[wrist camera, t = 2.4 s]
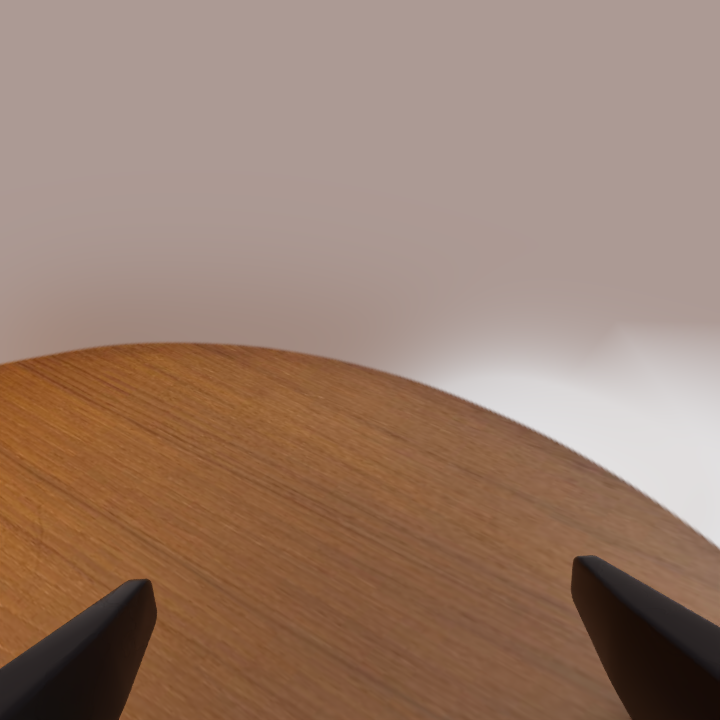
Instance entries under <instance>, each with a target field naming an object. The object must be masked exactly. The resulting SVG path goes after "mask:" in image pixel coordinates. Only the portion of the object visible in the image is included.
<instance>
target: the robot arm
mask: <svg viewBox="0 0 720 720" xmlns="http://www.w3.org/2000/svg"><path fill="white" fill-rule="evenodd" d="M571 594H572V598H573V601H574V603H575V606H576V608H577V610H578V612H579V614H580V617H581V619H582V621H583V623H584V625H585V627H586V630H587V632H588V634H589V636H590V638H591V640H592V643H593V645H594V647H595V649H596V651H597V653H598V656H599V658H600V660H601V662H602V664H603V667H604V669H605V671H606V673H607V675H608V677H609V679H610V681H611V683H612V685H613V687H614V688H615V690H616V692H617V694H618V696H619V698H620V699H621V701H622V703H623V705H624V706H625V708H626V710H627V712H628V713H629V715H630V717H631V719H632V720H720V627H718V626H717V625H715V624H713V623H711V622H710V621H708V620H706V619H705V618H703V617H701V616H699V615H698V614H696V613H694V612H692V611H691V610H689V609H687V608H685V607H684V606H682V605H680V604H679V603H677V602H675V601H673V600H672V599H670V598H668V597H666V596H665V595H663V594H661V593H659V592H658V591H656V590H654V589H653V588H651V587H649V586H647V585H646V584H644V583H642V582H640V581H639V580H637V579H635V578H633V577H632V576H630V575H628V574H627V573H625V572H623V571H621V570H620V569H618V568H616V567H614V566H613V565H611V564H609V563H607V562H606V561H604V560H602V559H600V558H599V557H597V556H593V555H589V556H577V557H575V558H574V560H573V568H572V581H571ZM156 619H157V608H156V603H155V598H154V592H153V587H152V583H151V581H150V580H148V579H132V580H128V581H127V582H125V583H124V584H122V585H121V586H119V587H118V588H116V589H115V590H113V591H112V592H111V593H109V594H108V595H106V596H105V597H103V598H102V599H100V600H99V601H98V602H96V603H95V604H93V605H92V606H90V607H89V608H87V609H86V610H85V611H83V612H82V613H80V614H79V615H77V616H76V617H74V618H73V619H72V620H70V621H69V622H67V623H66V624H64V625H63V626H61V627H60V628H59V629H57V630H56V631H54V632H53V633H51V634H50V635H48V636H47V637H46V638H44V639H43V640H41V641H40V642H38V643H37V644H35V645H34V646H33V647H31V648H30V649H28V650H27V651H25V652H24V653H22V654H21V655H20V656H18V657H17V658H15V659H14V660H12V661H11V662H9V663H8V664H7V665H5V666H4V667H2V668H1V669H0V720H119V717H120V715H121V713H122V711H123V709H124V706H125V704H126V701H127V699H128V696H129V693H130V691H131V688H132V685H133V683H134V680H135V677H136V675H137V672H138V669H139V667H140V664H141V661H142V658H143V656H144V653H145V650H146V648H147V645H148V642H149V640H150V637H151V634H152V631H153V629H154V626H155V623H156Z"/></svg>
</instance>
